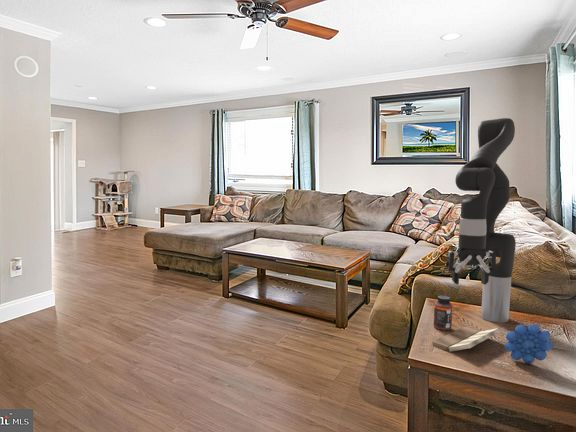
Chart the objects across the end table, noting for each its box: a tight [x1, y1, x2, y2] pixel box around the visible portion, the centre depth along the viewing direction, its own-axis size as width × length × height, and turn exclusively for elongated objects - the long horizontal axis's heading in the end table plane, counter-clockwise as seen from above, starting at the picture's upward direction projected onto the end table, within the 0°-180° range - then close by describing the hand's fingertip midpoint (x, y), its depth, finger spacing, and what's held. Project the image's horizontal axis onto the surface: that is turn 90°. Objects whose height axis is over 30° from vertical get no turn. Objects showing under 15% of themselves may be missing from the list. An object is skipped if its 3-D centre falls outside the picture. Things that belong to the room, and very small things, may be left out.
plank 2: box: [466, 327, 501, 340], centre depth 118 cm, size 10×7×1 cm
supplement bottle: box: [433, 295, 454, 331], centre depth 129 cm, size 6×6×11 cm
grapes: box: [503, 323, 554, 365], centre depth 105 cm, size 12×7×12 cm, turn 60°
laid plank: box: [432, 326, 480, 352], centre depth 120 cm, size 21×5×1 cm, turn 127°
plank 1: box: [448, 336, 487, 352], centre depth 112 cm, size 10×7×1 cm
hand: (469, 283), depth 113 cm, fingers open, 8 cm apart
